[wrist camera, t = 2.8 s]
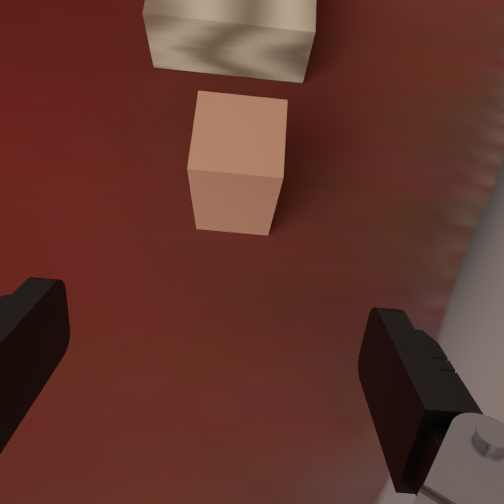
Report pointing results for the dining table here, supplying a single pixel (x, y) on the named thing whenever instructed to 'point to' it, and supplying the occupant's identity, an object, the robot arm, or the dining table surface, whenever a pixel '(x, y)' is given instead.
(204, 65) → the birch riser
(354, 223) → the dining table surface
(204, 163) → the terracotta block
